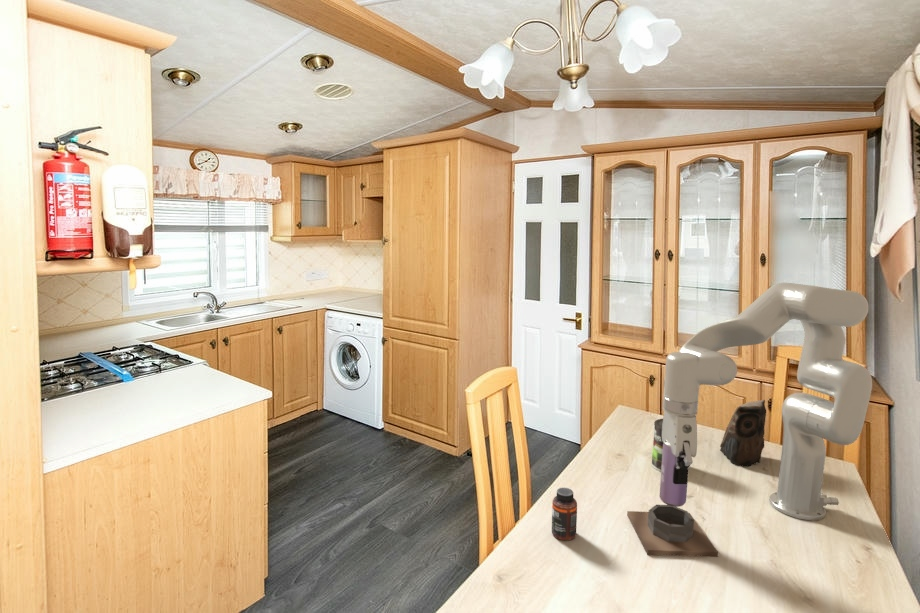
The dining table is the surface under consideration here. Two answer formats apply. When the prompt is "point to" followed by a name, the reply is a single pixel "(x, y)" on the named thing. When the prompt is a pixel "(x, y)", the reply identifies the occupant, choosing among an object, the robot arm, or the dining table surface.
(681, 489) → the beverage can
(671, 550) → the can holder
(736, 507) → the dining table surface
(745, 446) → the owl
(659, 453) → the coffee can
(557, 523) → the supplement bottle
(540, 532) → the dining table surface
